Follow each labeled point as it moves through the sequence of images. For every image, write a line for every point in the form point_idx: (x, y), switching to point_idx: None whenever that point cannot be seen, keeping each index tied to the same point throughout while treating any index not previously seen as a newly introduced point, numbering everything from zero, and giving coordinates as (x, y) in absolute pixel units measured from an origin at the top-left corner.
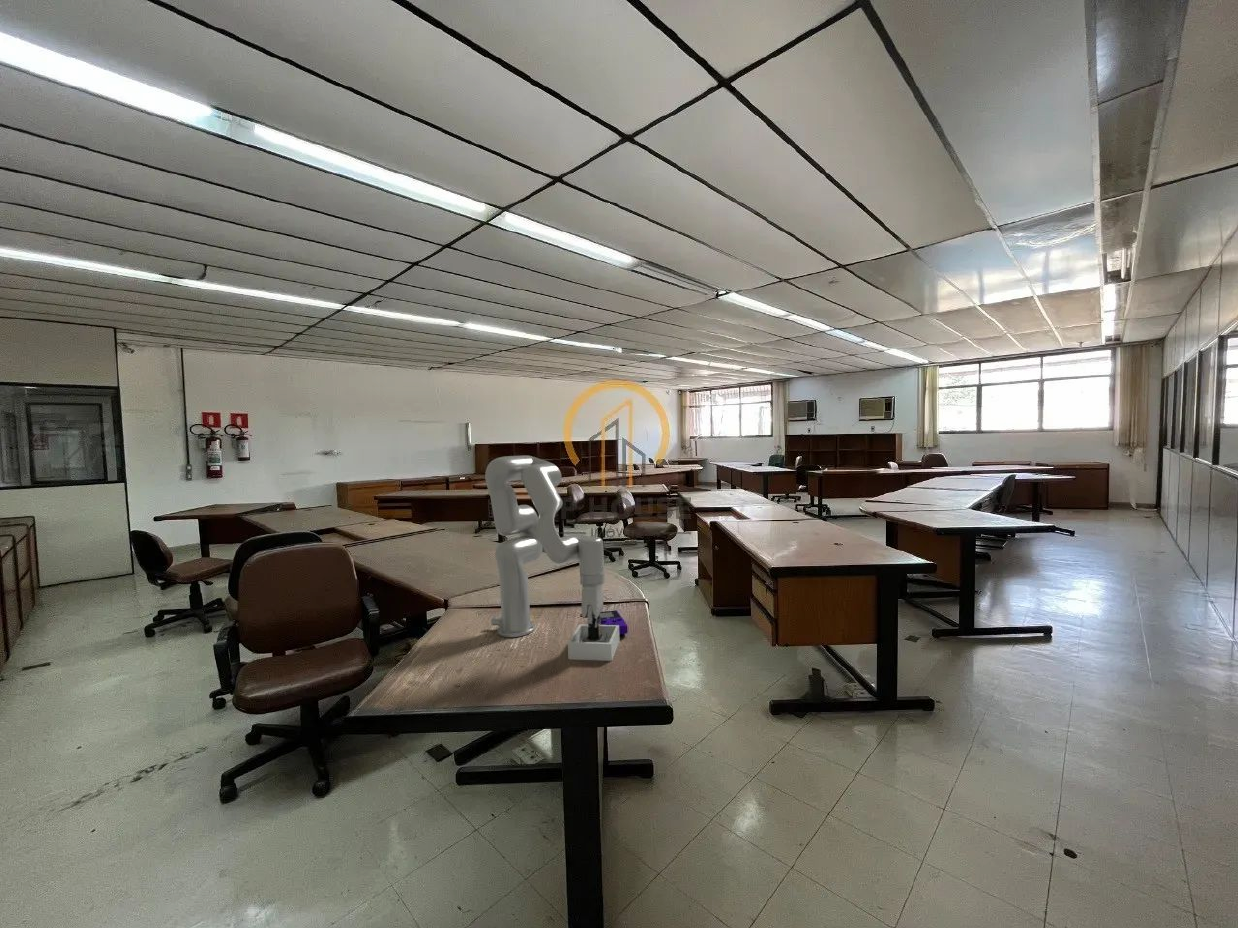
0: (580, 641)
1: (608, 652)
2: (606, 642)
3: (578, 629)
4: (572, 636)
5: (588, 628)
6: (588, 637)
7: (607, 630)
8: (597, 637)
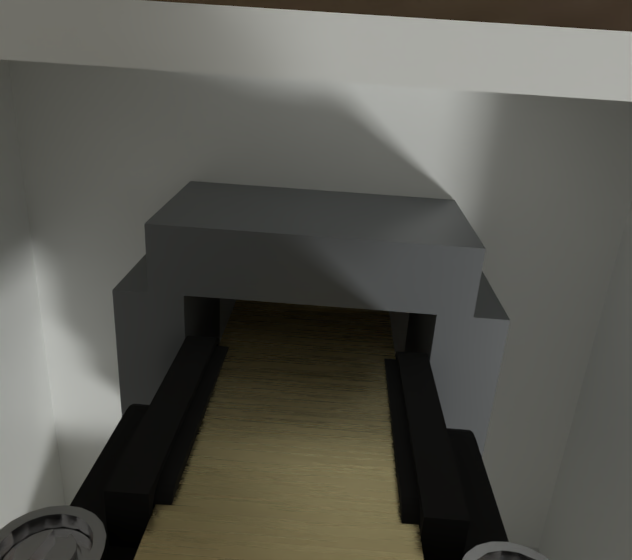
0: (501, 93)
1: None
2: None
3: (550, 90)
4: (118, 20)
5: (118, 471)
6: (182, 348)
7: (603, 540)
8: None
